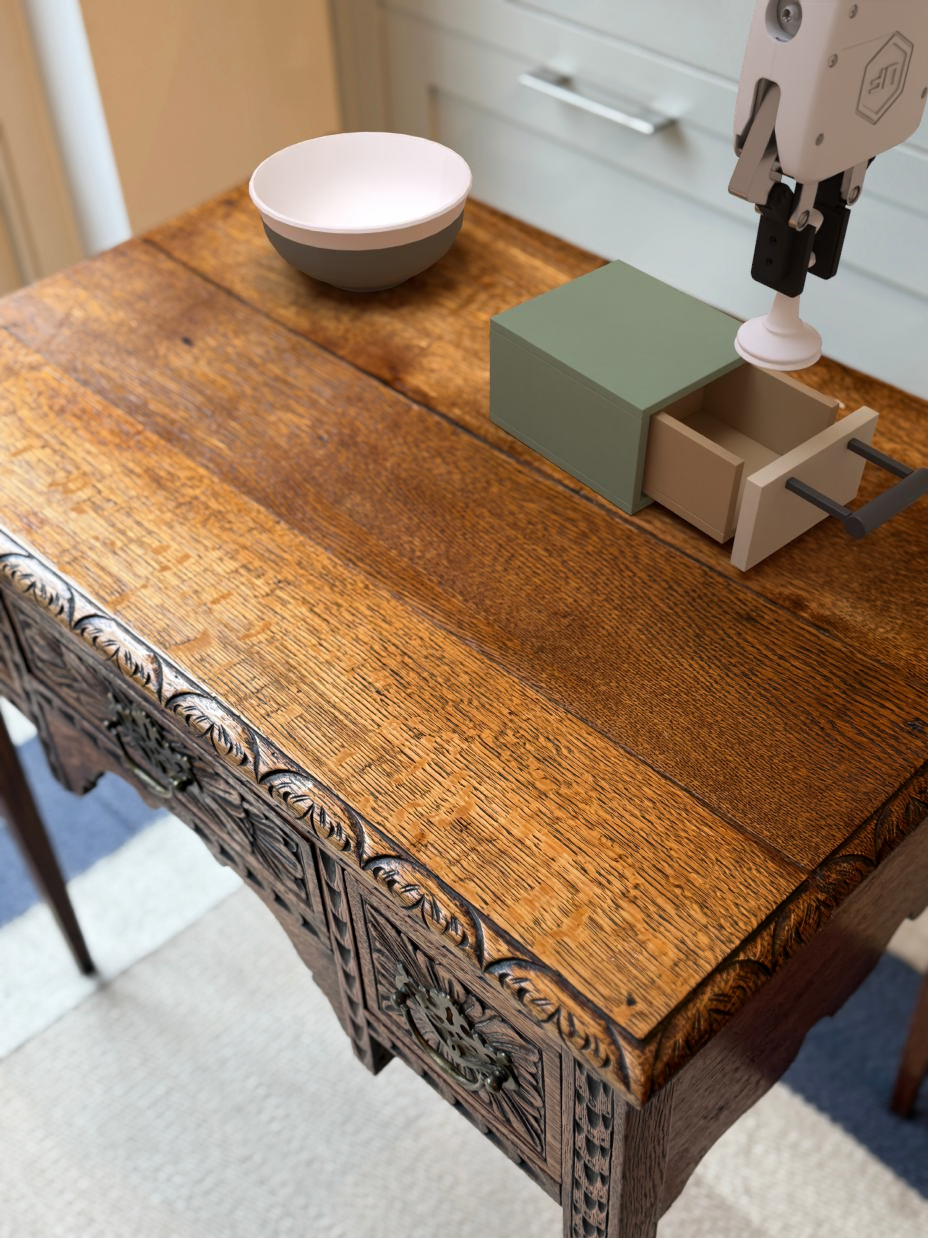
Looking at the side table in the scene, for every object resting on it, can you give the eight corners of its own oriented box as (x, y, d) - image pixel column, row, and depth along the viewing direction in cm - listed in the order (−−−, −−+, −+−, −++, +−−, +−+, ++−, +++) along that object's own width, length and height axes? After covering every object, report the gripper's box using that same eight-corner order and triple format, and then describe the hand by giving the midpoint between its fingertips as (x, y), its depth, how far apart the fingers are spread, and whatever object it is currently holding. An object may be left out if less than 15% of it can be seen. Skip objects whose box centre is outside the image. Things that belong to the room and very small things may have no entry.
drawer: (932, 541, 76) (962, 456, 71) (820, 623, 71) (844, 537, 66) (704, 409, 87) (717, 327, 82) (593, 472, 82) (600, 388, 77)
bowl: (223, 256, 106) (208, 166, 100) (398, 199, 113) (393, 113, 107) (331, 347, 95) (321, 252, 89) (516, 277, 102) (518, 186, 97)
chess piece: (725, 361, 67) (754, 191, 60) (744, 318, 70) (773, 152, 63) (813, 378, 66) (852, 206, 59) (828, 334, 69) (867, 166, 62)
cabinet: (753, 442, 85) (773, 338, 79) (630, 516, 80) (642, 409, 73) (609, 359, 93) (618, 258, 87) (489, 420, 88) (489, 317, 81)
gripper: (824, -48, 46) (750, 359, 59) (1045, -121, 53) (935, 256, 66) (681, -87, 50) (641, 301, 63) (904, -150, 58) (827, 210, 71)
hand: (792, 275), depth 65 cm, fingers closed on chess piece
